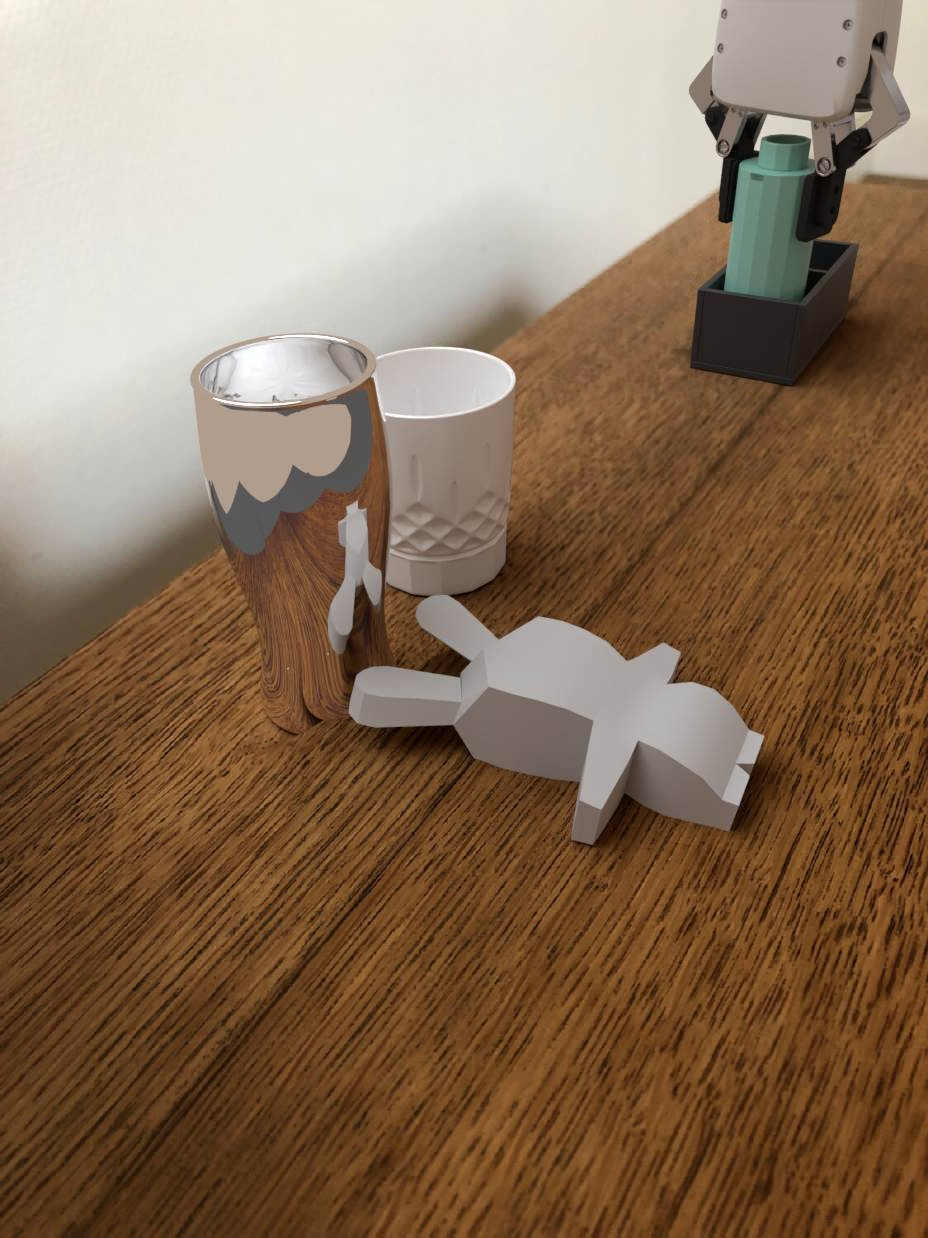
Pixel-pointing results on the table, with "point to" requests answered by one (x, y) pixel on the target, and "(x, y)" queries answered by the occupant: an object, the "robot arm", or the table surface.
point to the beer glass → (302, 510)
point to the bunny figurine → (574, 717)
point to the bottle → (770, 221)
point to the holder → (773, 320)
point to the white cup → (448, 466)
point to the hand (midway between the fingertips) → (773, 224)
